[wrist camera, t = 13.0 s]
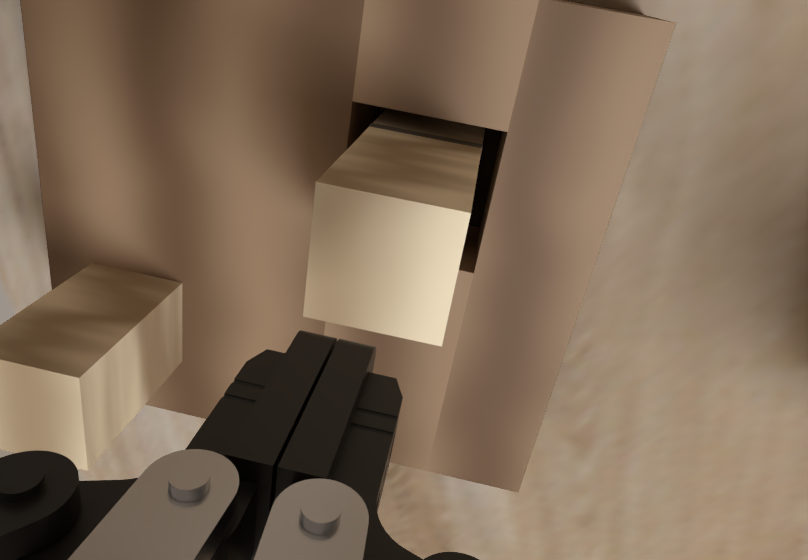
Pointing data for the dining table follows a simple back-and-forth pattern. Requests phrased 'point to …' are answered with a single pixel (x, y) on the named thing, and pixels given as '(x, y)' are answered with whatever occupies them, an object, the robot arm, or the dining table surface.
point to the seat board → (308, 203)
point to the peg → (393, 226)
